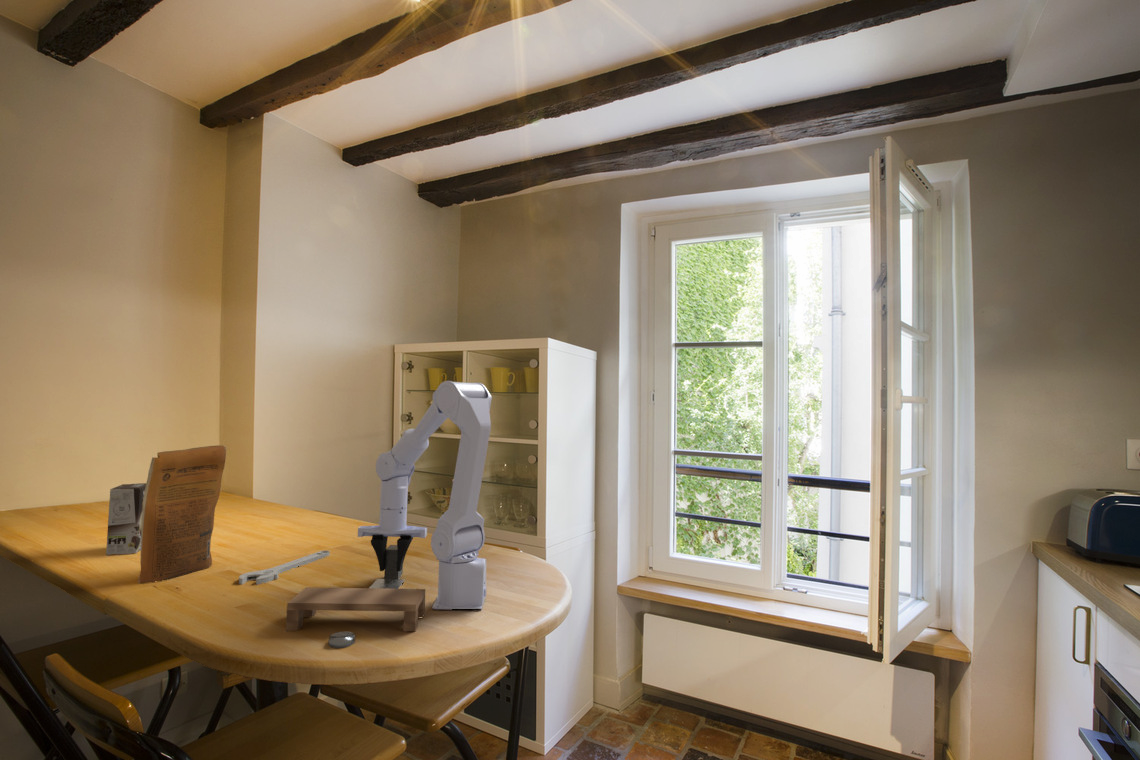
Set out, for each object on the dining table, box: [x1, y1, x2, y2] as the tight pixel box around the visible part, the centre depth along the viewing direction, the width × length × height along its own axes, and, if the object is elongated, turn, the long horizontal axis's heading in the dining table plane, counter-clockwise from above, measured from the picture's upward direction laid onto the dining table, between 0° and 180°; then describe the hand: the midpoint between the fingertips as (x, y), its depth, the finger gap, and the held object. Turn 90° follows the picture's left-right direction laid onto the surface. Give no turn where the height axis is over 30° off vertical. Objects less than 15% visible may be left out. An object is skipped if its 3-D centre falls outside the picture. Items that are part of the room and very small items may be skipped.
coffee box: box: [105, 482, 147, 556], centre depth 143 cm, size 9×6×16 cm
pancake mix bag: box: [137, 444, 227, 584], centre depth 126 cm, size 7×19×28 cm, turn 159°
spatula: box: [368, 544, 406, 589], centre depth 120 cm, size 6×18×7 cm, turn 3°
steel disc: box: [328, 631, 356, 649], centre depth 94 cm, size 4×4×1 cm
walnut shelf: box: [285, 586, 426, 633], centre depth 102 cm, size 22×8×5 cm, turn 93°
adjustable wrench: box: [238, 550, 330, 585], centre depth 132 cm, size 25×6×2 cm, turn 159°
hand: (391, 569), depth 124 cm, fingers closed on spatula, 3 cm apart
